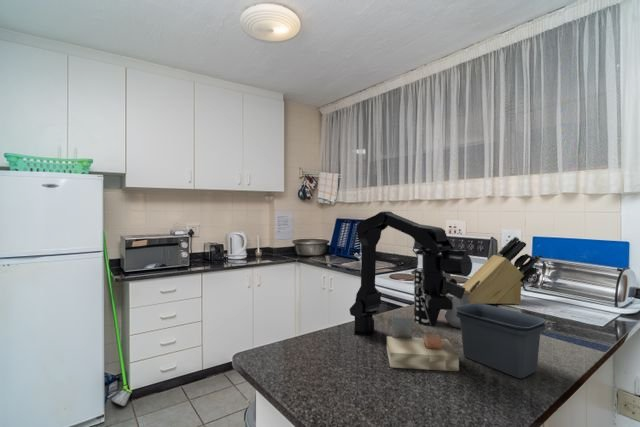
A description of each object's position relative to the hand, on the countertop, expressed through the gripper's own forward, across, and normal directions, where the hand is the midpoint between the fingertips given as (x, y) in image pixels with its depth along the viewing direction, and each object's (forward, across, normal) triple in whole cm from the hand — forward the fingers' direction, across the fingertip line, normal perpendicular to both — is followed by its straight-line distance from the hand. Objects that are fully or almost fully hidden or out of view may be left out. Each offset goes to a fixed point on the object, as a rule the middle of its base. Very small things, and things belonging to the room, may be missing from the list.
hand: (432, 325), depth 94 cm
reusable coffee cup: (+10, +63, -15) cm, 65 cm away
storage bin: (+10, 0, -18) cm, 21 cm away
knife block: (+10, +68, -44) cm, 82 cm away
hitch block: (+10, 0, +4) cm, 11 cm away
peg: (+10, 0, 0) cm, 10 cm away
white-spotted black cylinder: (+10, +34, -4) cm, 36 cm away
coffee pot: (+10, +35, -20) cm, 42 cm away
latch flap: (+3, +5, +8) cm, 10 cm away
